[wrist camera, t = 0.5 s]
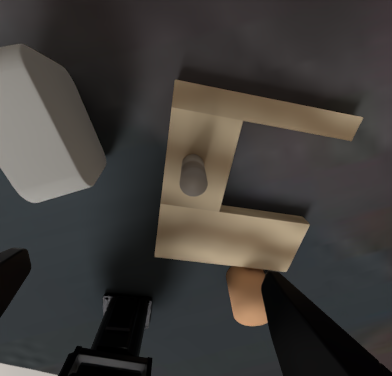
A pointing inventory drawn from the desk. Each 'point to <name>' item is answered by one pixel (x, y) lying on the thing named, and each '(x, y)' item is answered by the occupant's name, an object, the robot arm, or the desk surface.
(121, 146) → the desk surface
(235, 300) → the tan rounded cone
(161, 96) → the desk surface
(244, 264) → the pale wood u-shaped block
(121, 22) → the desk surface
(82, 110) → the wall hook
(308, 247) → the desk surface
